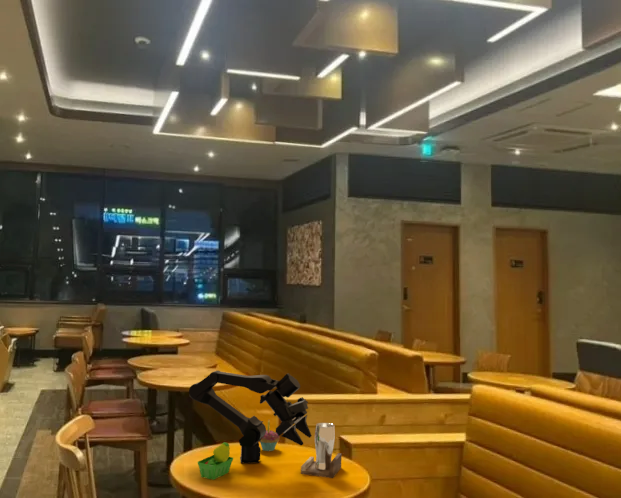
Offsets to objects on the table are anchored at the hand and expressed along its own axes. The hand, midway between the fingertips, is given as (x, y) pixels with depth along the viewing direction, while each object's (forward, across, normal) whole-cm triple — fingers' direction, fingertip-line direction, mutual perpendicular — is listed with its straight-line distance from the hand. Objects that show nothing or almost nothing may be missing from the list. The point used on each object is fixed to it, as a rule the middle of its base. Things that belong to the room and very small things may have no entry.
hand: (306, 440), depth 223 cm
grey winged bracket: (+11, 0, +2) cm, 11 cm away
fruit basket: (-10, -20, +24) cm, 33 cm away
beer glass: (+11, 0, +1) cm, 11 cm away
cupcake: (-6, +15, +22) cm, 27 cm away
